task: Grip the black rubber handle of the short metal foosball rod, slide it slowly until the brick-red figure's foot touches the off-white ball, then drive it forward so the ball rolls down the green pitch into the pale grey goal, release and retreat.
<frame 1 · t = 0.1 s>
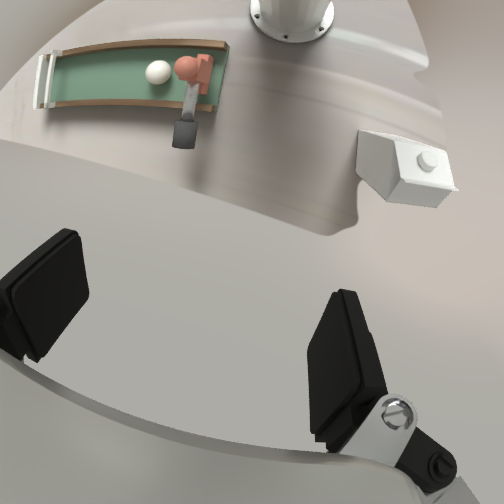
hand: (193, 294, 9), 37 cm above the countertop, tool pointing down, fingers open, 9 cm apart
pitch: (121, 74, 36), on the countertop
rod: (192, 97, 32), point 7 cm above the countertop, slide at 0.0 cm
goal: (64, 79, 36), resting on pitch
milk carton: (376, 153, 40), on the countertop
ball: (158, 72, 34), point 3 cm above the countertop, touching pitch
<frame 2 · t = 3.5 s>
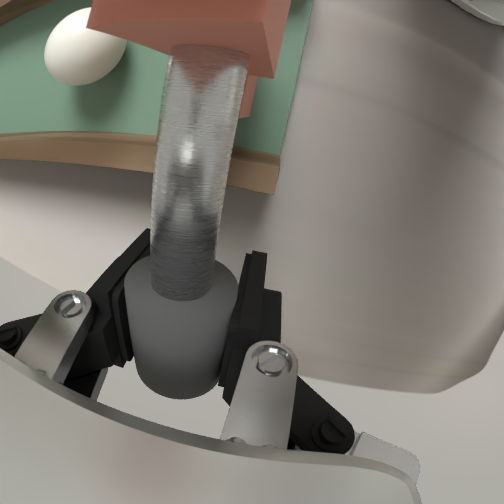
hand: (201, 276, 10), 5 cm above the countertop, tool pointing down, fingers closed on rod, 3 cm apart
pitch: (24, 69, 11), on the countertop
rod: (200, 150, 6), point 7 cm above the countertop, slide at 0.0 cm, touching gripper
ball: (85, 45, 8), point 3 cm above the countertop, touching pitch
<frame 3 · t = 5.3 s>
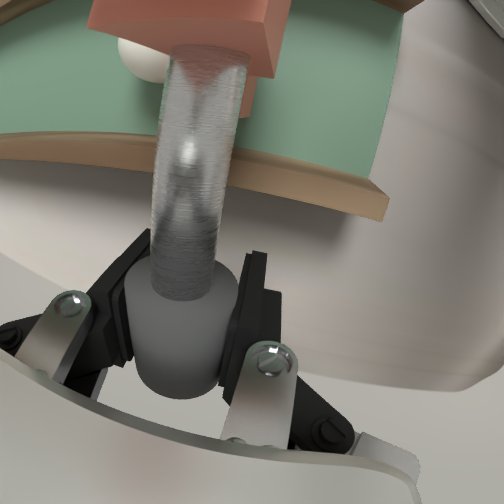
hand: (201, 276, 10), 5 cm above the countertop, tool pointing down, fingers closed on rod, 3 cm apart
pitch: (63, 60, 11), on the countertop
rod: (200, 150, 6), point 7 cm above the countertop, slide at 4.3 cm, touching gripper
ball: (168, 37, 8), point 3 cm above the countertop, touching pitch
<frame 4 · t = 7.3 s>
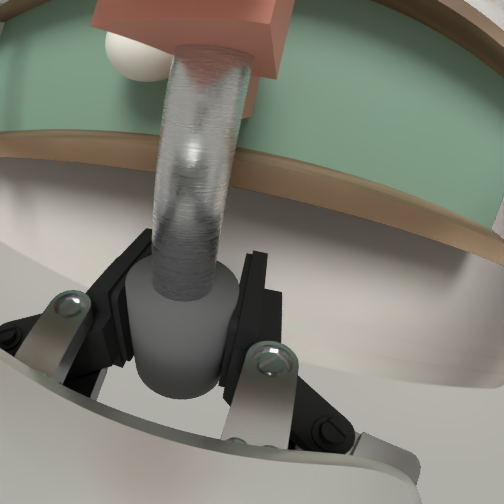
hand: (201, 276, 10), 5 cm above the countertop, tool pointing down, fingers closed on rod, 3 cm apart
pitch: (206, 51, 11), on the countertop
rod: (202, 150, 6), point 7 cm above the countertop, slide at 13.5 cm, touching gripper
goal: (21, 68, 11), resting on pitch
ball: (154, 37, 8), point 3 cm above the countertop, tilted 77°, touching pitch
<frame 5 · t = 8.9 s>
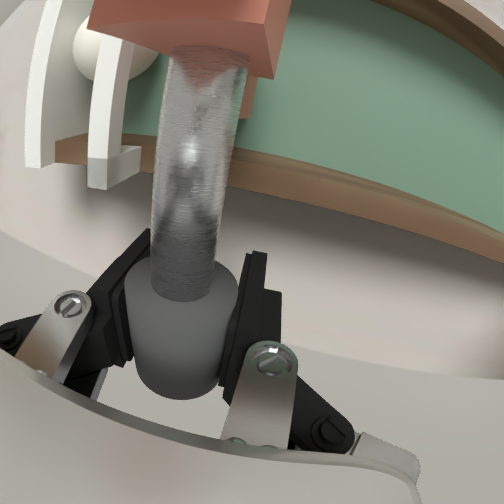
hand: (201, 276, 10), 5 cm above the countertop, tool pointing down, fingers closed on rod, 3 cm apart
pitch: (427, 111, 11), on the countertop
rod: (200, 151, 6), point 7 cm above the countertop, slide at 24.9 cm, touching gripper
goal: (156, 50, 11), resting on pitch
ball: (117, 41, 8), point 3 cm above the countertop, tilted 62°, touching pitch
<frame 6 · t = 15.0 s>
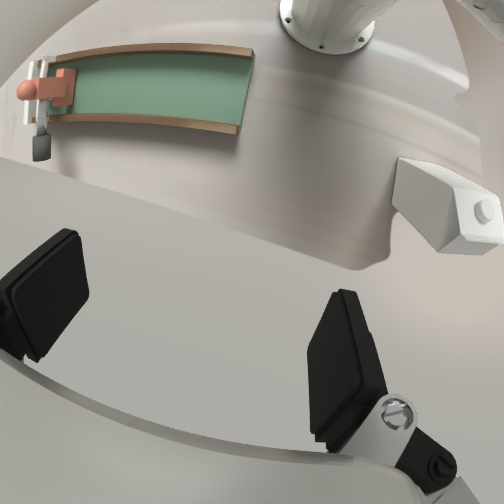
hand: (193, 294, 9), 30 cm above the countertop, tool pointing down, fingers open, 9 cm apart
pitch: (125, 83, 32), on the countertop
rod: (45, 113, 27), point 7 cm above the countertop, slide at 25.5 cm
goal: (59, 88, 32), resting on pitch
milk carton: (414, 183, 35), on the countertop
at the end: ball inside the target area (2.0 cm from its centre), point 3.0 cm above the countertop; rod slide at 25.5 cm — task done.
